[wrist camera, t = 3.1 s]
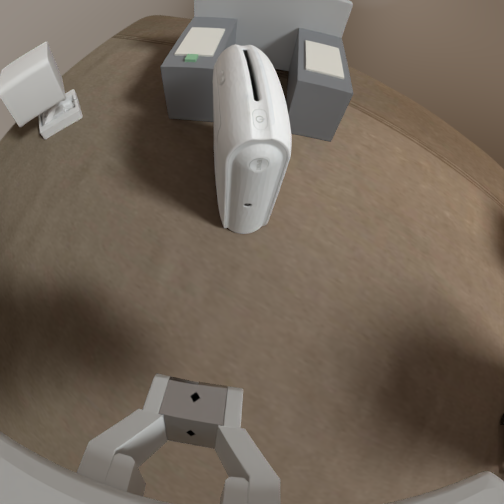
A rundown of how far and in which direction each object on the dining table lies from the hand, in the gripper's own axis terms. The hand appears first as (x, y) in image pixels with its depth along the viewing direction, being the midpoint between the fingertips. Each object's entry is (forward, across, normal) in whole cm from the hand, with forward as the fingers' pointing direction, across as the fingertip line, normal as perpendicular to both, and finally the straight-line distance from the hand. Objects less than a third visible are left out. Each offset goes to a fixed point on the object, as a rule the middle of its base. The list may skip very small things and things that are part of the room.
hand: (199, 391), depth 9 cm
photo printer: (+20, 0, -3) cm, 20 cm away
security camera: (+24, +24, -8) cm, 35 cm away
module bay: (+29, 0, -12) cm, 31 cm away
